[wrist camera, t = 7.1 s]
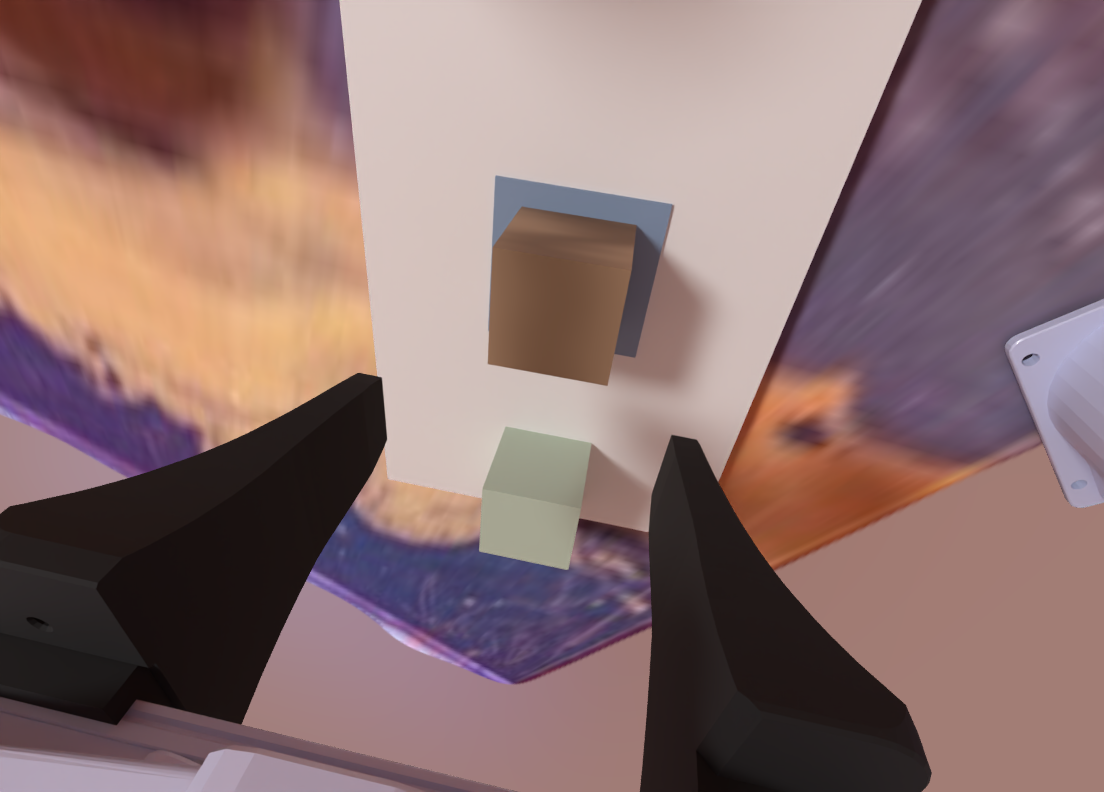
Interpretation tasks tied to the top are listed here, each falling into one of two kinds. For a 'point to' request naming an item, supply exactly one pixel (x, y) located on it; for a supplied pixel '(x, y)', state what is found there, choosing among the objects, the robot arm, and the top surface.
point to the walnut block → (559, 294)
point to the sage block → (534, 497)
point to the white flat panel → (600, 207)
